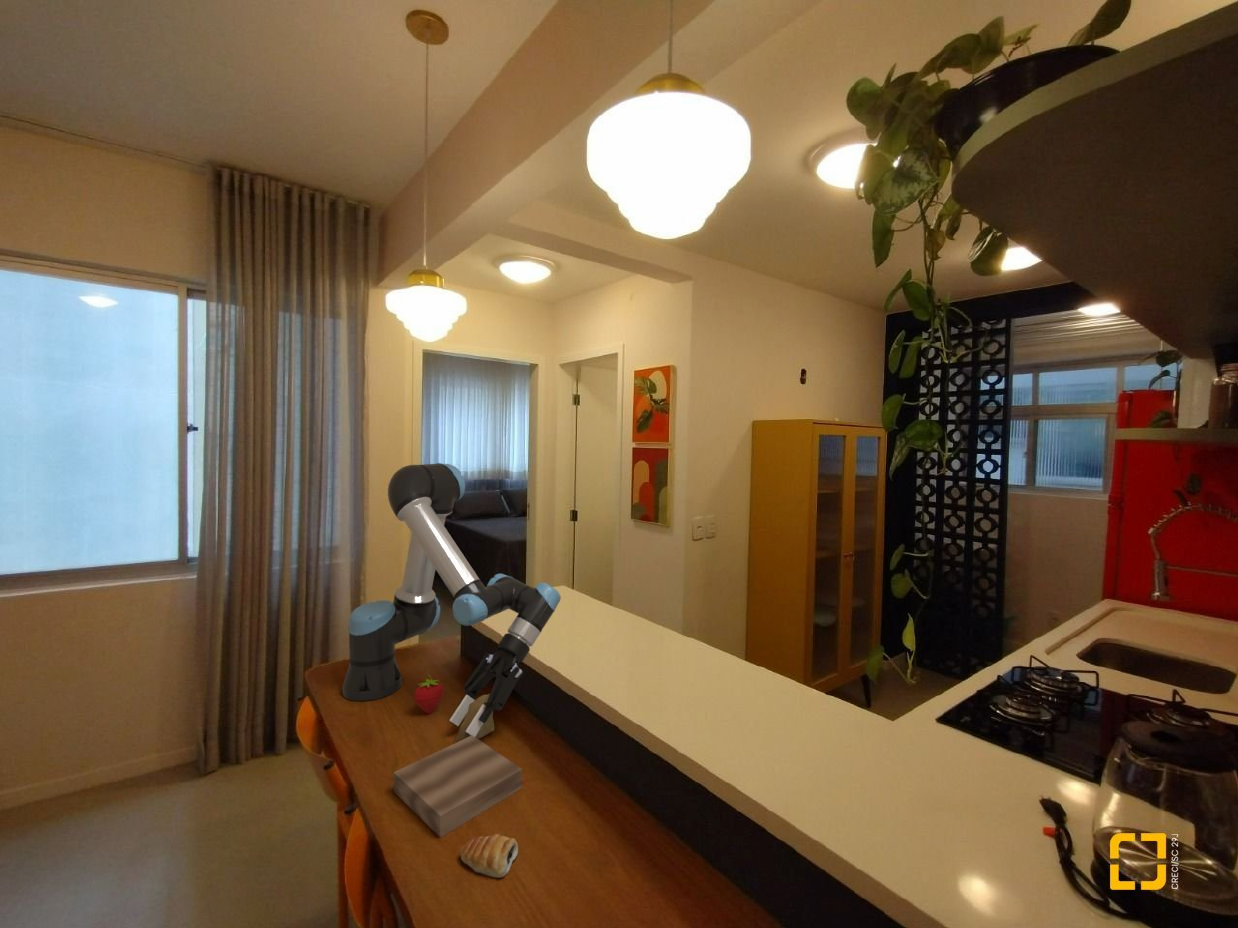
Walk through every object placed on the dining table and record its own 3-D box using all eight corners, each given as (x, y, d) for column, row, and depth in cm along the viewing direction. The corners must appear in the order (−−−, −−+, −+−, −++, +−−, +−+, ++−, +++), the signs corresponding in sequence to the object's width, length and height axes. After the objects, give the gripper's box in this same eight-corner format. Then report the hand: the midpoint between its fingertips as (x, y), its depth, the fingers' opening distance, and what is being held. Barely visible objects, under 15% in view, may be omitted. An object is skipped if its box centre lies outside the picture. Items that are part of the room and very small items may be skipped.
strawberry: (409, 714, 135) (409, 676, 134) (437, 703, 140) (436, 667, 140) (420, 722, 131) (420, 683, 130) (448, 711, 136) (448, 673, 136)
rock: (456, 746, 117) (500, 728, 121) (447, 707, 121) (490, 691, 125) (455, 754, 125) (497, 737, 129) (447, 717, 129) (487, 702, 133)
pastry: (451, 871, 86) (451, 849, 86) (471, 841, 93) (471, 820, 93) (504, 882, 84) (505, 859, 84) (521, 850, 91) (521, 829, 91)
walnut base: (393, 791, 105) (393, 772, 105) (472, 752, 119) (472, 735, 118) (440, 837, 93) (440, 815, 93) (521, 788, 107) (521, 769, 106)
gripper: (551, 657, 129) (495, 751, 118) (504, 637, 142) (450, 720, 130) (534, 642, 125) (475, 738, 113) (487, 623, 138) (430, 707, 126)
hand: (461, 728), depth 122 cm, fingers open, 6 cm apart
